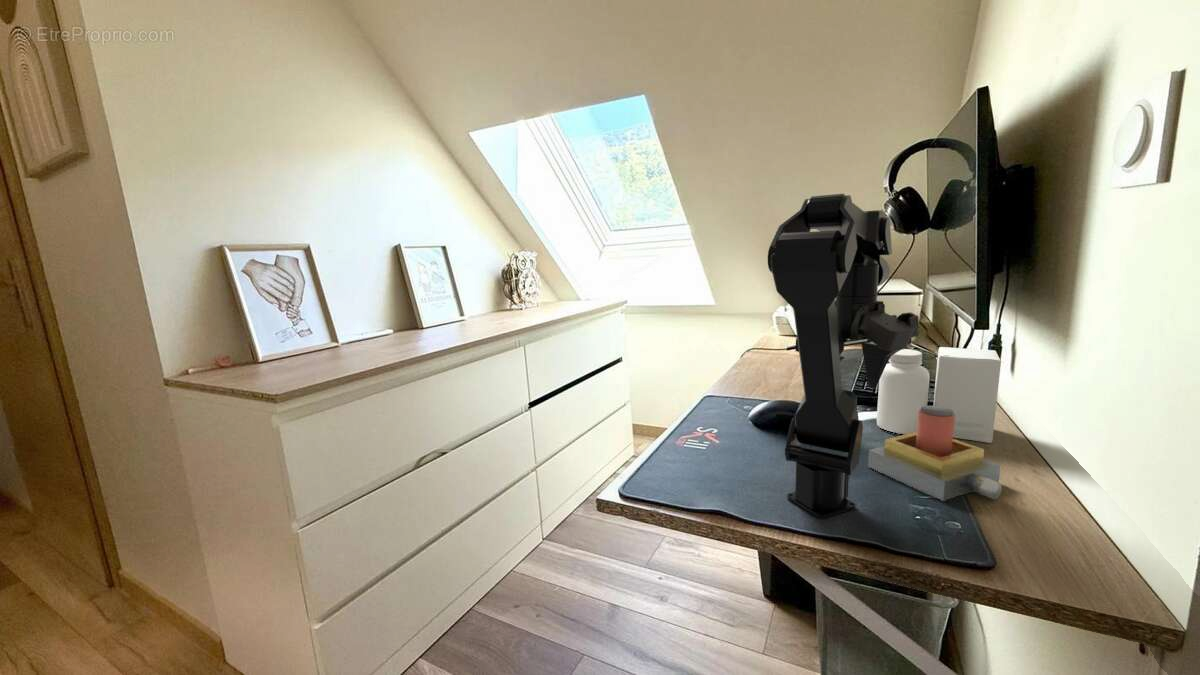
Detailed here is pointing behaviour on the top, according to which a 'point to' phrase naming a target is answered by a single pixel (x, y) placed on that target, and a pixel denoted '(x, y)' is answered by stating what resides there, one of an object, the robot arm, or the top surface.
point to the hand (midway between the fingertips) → (851, 391)
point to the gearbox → (937, 468)
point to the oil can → (935, 430)
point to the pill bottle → (902, 392)
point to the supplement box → (968, 390)
